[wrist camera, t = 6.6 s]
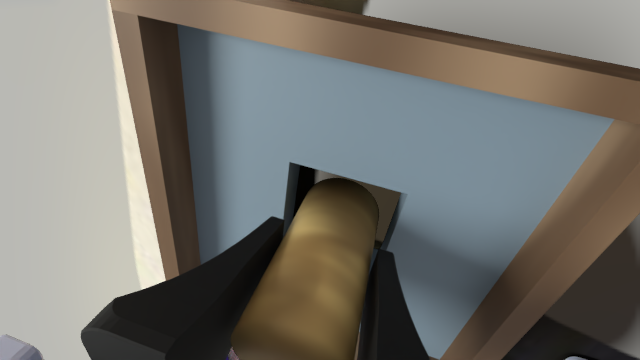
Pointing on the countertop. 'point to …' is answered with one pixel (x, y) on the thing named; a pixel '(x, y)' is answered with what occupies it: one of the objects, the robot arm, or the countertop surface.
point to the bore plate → (378, 161)
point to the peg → (314, 280)
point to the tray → (419, 60)
